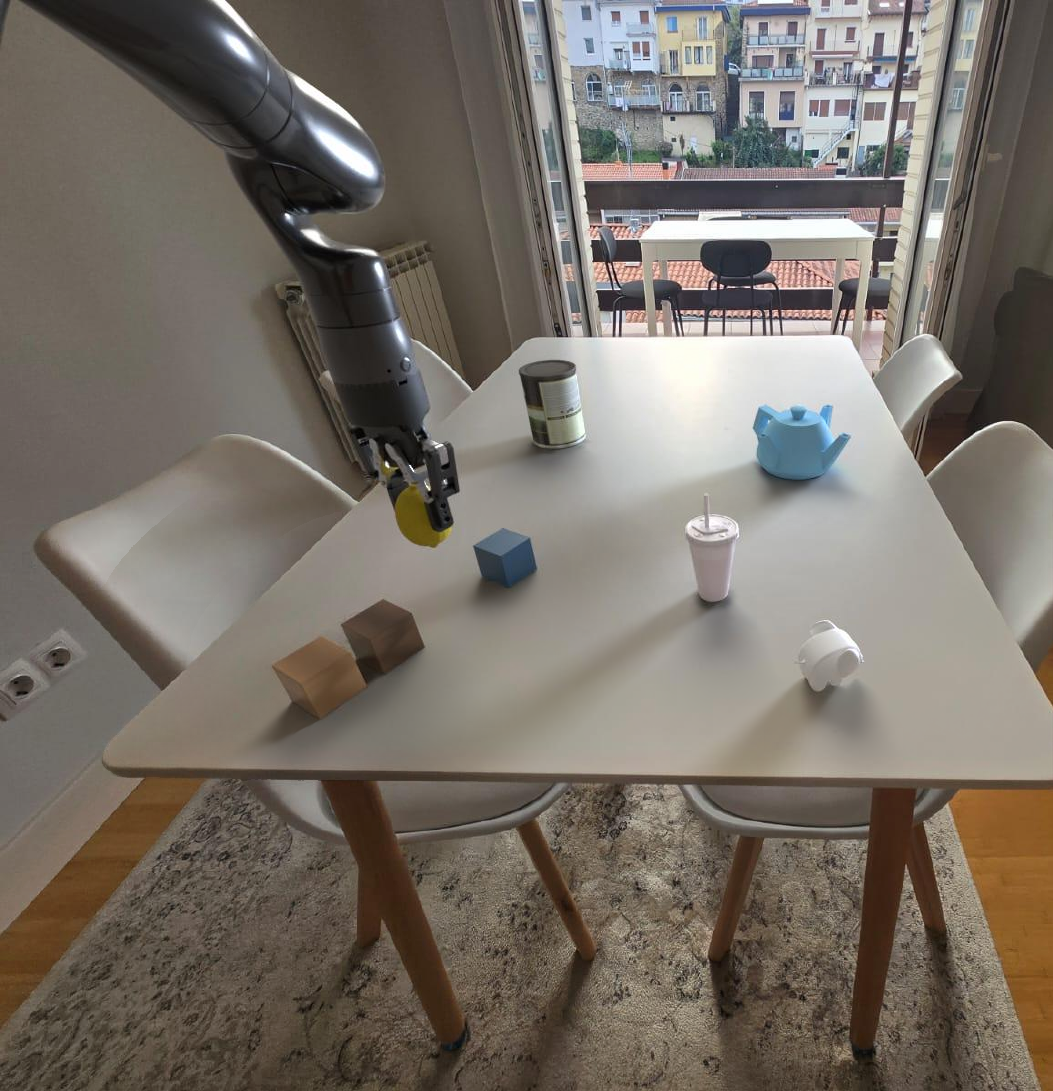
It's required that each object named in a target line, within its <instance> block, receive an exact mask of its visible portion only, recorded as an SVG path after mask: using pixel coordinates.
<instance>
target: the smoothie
mask: <svg viewBox="0 0 1053 1091" xmlns="http://www.w3.org/2000/svg"><path fill="white" fill-rule="evenodd" d="M703 511H704V512H703V513H704V514H703V515H699V516H696V517H694V518H692V519H691V520H689V521H688V522H687V524H686V525H685V527H684V528H685V529H684V531H685V534H684V537H685V539H686V541H687V542H688V544H689V550H690V555H691V560H692V565H693V571H694V576H695V582H696V585H697V590H698V595H699V597H700V599H702V600H704V601H706V602H713V603H714V602H715V603H716V602H719V601H723V600H725V598H727V596H728V594H729V589H730V581H731V575H732V568H733V561H734V554H735V547H736V541H737V540H738V539H739V537H740V531H739V525H738V523H737V522H736V521H735V520H734V519H732V518H731V517H728V516H726V515H722V514H710V495H709V493H703Z"/></svg>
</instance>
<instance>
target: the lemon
mask: <svg viewBox="0 0 1053 1091" xmlns="http://www.w3.org/2000/svg"><path fill="white" fill-rule="evenodd" d="M409 485H410V487H408V488H406V489H405V490H404V491H403V492H402V493H401V494H400V495H399V496H398V498H397V500H396V503H395V511H394V517H395V521H396V525H397V527H398V530H399V531H400V533H401V534H402V536H403V537H404V538H406V539H407V540H408V542H410V543H412V544H414V545H417V546H419V547H429V548H431V549H435V548H437V547H438V546H439V544H441V543H442V542H444V541H445V540H447V538H448V536H450V534H451V533H452V532H451V531H452V530H453V525H454V524H453V525H452V526H451V527H449V528H448V529H446V530H444V531H442V532H437V531H434V530H433V529H432V526H431V523H430V520H429V517H428V514H427V511H426V508H425V505H424V502H425V501H424V499H423V498H422V496H421V494H420V492H419V491H418V489H417V487H416V486H415V485H414V484H409ZM427 486H428V488H429V490H430V489H431V488H430V485H427ZM451 513H452V511H451ZM452 514H453V513H452Z"/></svg>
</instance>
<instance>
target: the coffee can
mask: <svg viewBox="0 0 1053 1091" xmlns="http://www.w3.org/2000/svg"><path fill="white" fill-rule="evenodd" d="M518 375H519V377H520V382H521V386H522V392H523V397H524V403H525V406H526V411H527V417H528V420H529V421H528V422H529V426H530V431H531V436H532V443H533V444H534V445H535V446H536V447H538V448H541V449H548V450H558V449H566V448H570V447H574V446H577V445H579V444H581V443H582V442H583V441H584V440H585V439H586V437H587V435H586V430H585V423H584V416H583V409H582V403H581V397H580V390H579V385H578V384H579V383H578V377H577V365H576V363H574V362H573V361H570V360H566V359H565V360H564V359H544V360H538V361H533V362H529V363H527V364H524V365H522V366H521V367H519V368H518Z"/></svg>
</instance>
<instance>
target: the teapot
mask: <svg viewBox="0 0 1053 1091" xmlns="http://www.w3.org/2000/svg"><path fill="white" fill-rule="evenodd" d="M833 408H834V406H833V405H830V404H825V405H823V406H822V408H821V410H820V412H819V413H818V412H815V411H812V410H809V409H808V407H806V406H804V405H799V404H798V405H793V406H790V408H789V409H785V410H781V411H777V410H775V409H774V408H772V407H771V406H769V405H767V404H764V405H761V406H758V408H757V412H756V415H755V417H754V418H755V419H754V421H753V426H752V430H753V432H754V433H755V435H756V439H757V446H756V453H755V454H756V459H757V461H758V464H760V466H761V467H762V468H763V469H764V470H765V471H766V472H767V473H768V474H770V475H772V476H774V477H777V478H780V479H784V480H793V481H794V480H795V481H796V480H797V481H801V480H810V479H813V478H814V479H815V478H818V477H820V476H822V475H823V474H825V473H826V472H827V471H828V470H829V469H831V467H832V466H833V465H834V464H835V462H836V461H837V459H838V458H839V456H840V455H841V454H842V452H843V450H844V449H845V447H846V445H847V444H848V442H849V441H850V439H851V438H852V435H850V434H848V433H845V432H841V433H840V434H839V435H838V436H837V437H836V438H835V439H834V435H833V433H832V432H831V430H830V429H831V422H832V415H833Z"/></svg>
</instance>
